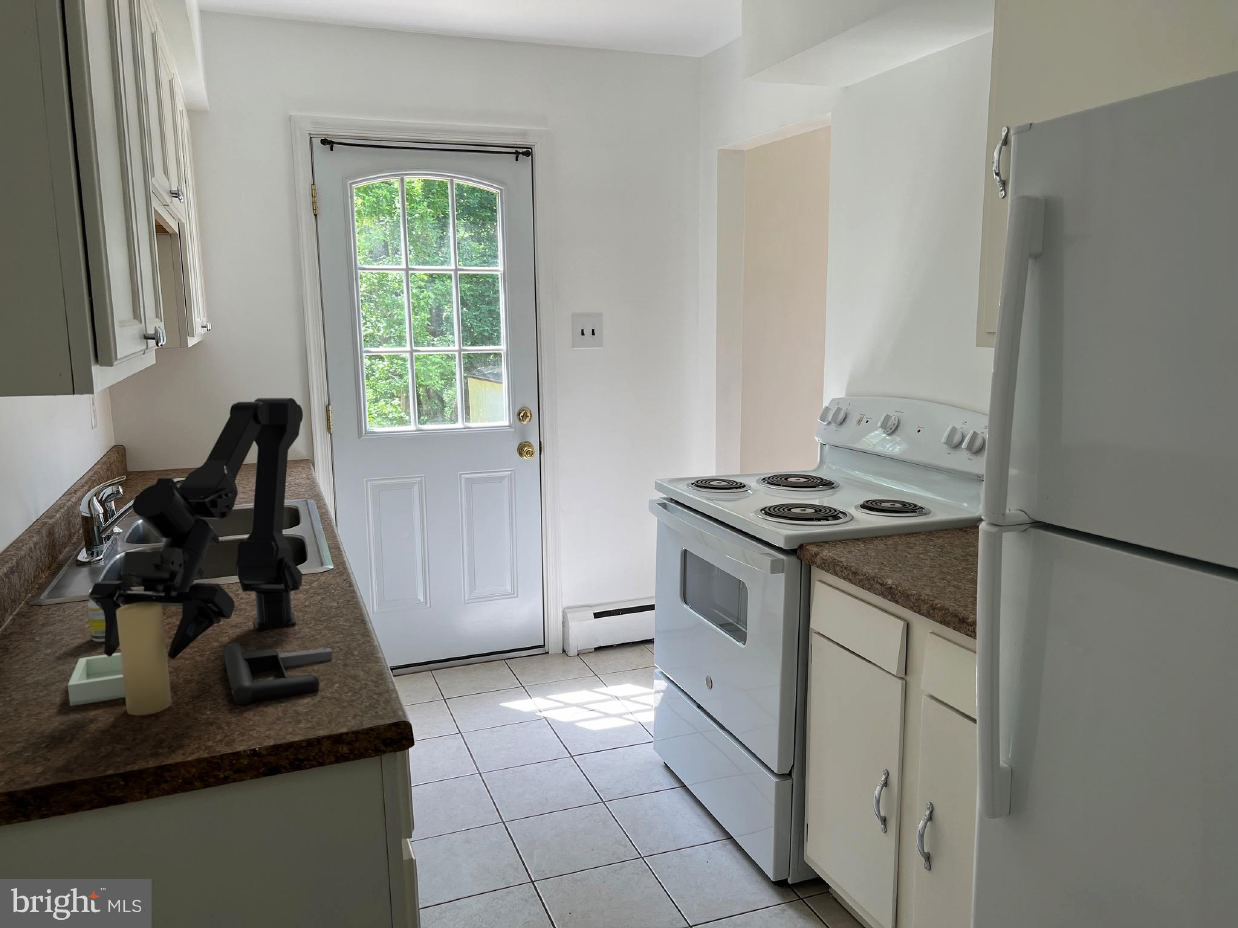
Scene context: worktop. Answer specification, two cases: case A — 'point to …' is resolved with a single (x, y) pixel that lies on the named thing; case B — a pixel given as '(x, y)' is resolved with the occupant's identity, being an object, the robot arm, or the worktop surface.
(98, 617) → the supplement bottle
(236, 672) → the door handle
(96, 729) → the worktop surface
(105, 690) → the tray
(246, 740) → the worktop surface
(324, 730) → the worktop surface
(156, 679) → the tan rounded cylinder
